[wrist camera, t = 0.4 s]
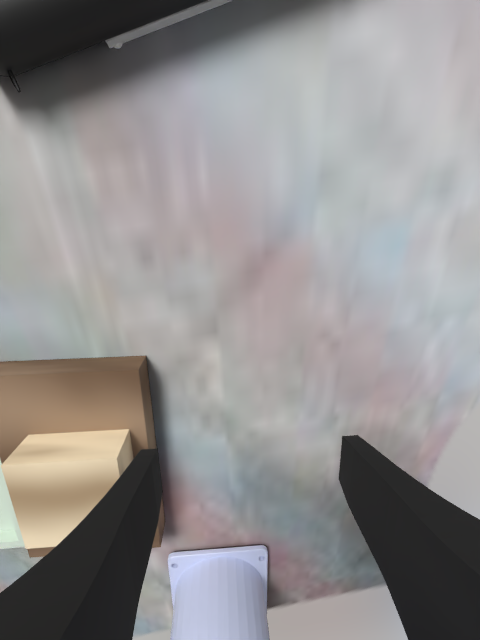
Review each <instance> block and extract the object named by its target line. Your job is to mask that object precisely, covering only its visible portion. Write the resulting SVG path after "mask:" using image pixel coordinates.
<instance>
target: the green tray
mask: <svg viewBox="0 0 480 640" xmlns="http://www.w3.org/2000/svg"><path fill="white" fill-rule="evenodd" d="M1 465H2V463H1V459H0V549H5V548H18V547H25V545H24V541H23V538H22V535H21V531H20V528H19V525H18V521H17V518H16V515H15V511H14V508H13V505H12V501H11V498H10V495H9V491H8V488H7V485H6V482H5V478H4V475H3V472H2V468H1Z"/></svg>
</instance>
